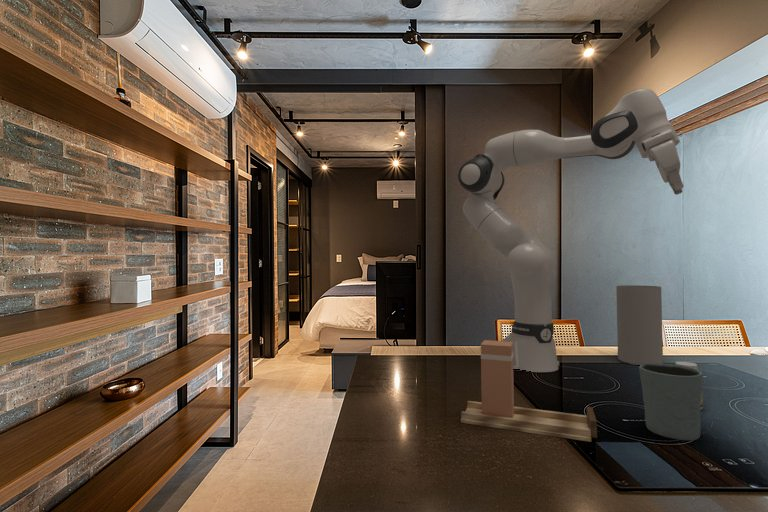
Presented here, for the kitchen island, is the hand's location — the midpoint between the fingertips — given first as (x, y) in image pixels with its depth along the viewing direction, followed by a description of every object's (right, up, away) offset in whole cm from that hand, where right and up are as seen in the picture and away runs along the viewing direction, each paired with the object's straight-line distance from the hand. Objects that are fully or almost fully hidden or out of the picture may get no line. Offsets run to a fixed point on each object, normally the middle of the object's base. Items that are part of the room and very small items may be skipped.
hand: (679, 191), depth 103 cm
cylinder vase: (+7, -52, +27) cm, 59 cm away
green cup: (-21, -51, -26) cm, 61 cm away
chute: (-49, -51, -22) cm, 74 cm away
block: (-53, -50, -20) cm, 76 cm away
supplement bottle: (-8, -51, -13) cm, 54 cm away
